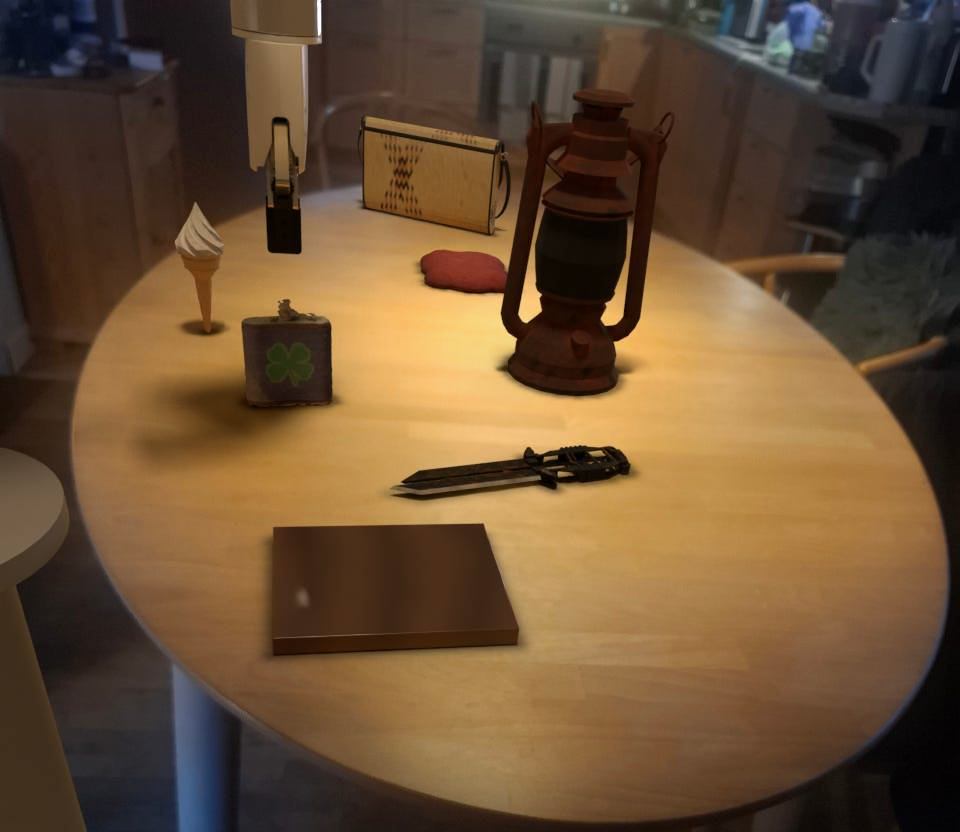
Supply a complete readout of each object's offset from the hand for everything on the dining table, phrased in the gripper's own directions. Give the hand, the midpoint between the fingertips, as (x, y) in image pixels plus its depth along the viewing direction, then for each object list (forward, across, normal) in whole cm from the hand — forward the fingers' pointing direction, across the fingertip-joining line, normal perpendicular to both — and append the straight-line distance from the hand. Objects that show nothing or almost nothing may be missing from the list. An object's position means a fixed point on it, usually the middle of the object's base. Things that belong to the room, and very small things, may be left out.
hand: (284, 245), depth 86 cm
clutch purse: (+16, -81, +27) cm, 87 cm away
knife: (+16, +17, +21) cm, 32 cm away
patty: (+16, -48, +28) cm, 58 cm away
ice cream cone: (+17, -21, -10) cm, 28 cm away
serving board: (+17, +35, +7) cm, 39 cm away
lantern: (+16, -10, +33) cm, 38 cm away
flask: (+17, -1, 0) cm, 17 cm away
